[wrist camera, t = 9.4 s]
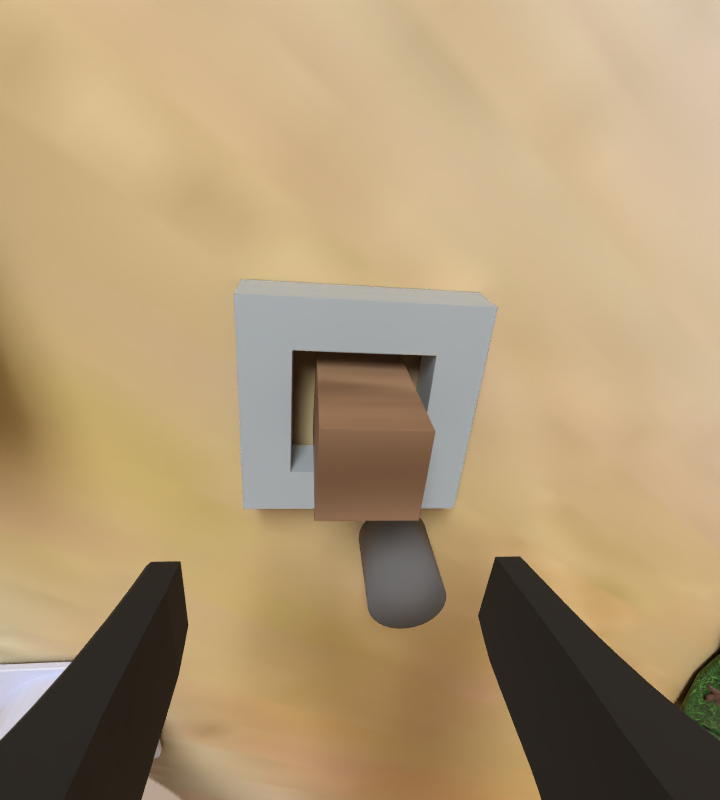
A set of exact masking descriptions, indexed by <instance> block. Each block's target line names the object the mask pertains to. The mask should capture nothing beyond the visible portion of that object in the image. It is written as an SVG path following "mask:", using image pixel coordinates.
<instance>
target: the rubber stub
mask: <svg viewBox="0 0 720 800" xmlns="http://www.w3.org/2000/svg"><path fill="white" fill-rule="evenodd" d="M359 543H360V551H361V558H362V566H363V573H364V581H365V588H366V596H367V603H368V610H369V613H370V615H371V616H372V618H373V619H374V620H375V621H377V622H378V623H380V624H382V625H384V626H387V627H391V628H410V627H415V626H418V625H421V624H424V623H426V622H428V621H429V620H431V619H432V618H434V617H435V616H436V615H437V614H438V613H439V612H440V611H441V610H442V608H443V606H444V604H445V601H446V592H445V589H444V585H443V582H442V579H441V576H440V573H439V570H438V566H437V563H436V560H435V557H434V554H433V551H432V548H431V544H430V541H429V538H428V535H427V532H426V529H425V525H424V523H423V521H422V520H421V519H420V518H419V521H366V522H365V523H364V525H363V526H362V528H361V530H360V533H359Z"/></svg>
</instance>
